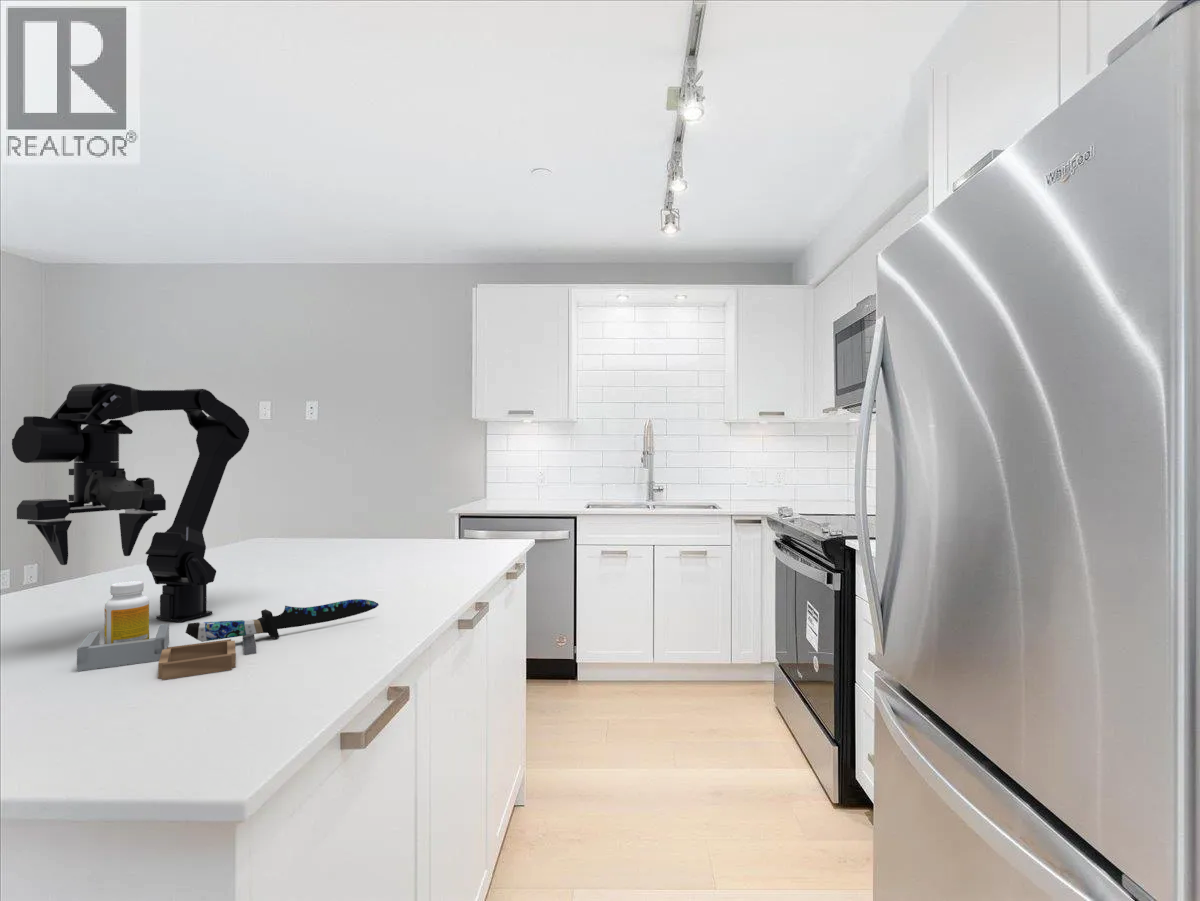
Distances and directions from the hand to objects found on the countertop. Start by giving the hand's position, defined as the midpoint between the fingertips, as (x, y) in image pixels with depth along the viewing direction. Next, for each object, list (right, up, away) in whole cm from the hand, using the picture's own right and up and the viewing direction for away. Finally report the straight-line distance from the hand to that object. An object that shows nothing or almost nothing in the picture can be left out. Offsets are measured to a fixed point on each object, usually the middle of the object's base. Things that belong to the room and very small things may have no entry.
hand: (96, 560), depth 103 cm
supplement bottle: (+10, -12, -7) cm, 17 cm away
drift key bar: (+26, -13, -3) cm, 29 cm away
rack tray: (+10, -13, -7) cm, 18 cm away
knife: (+29, -13, +5) cm, 32 cm away
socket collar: (+23, -13, -12) cm, 29 cm away
